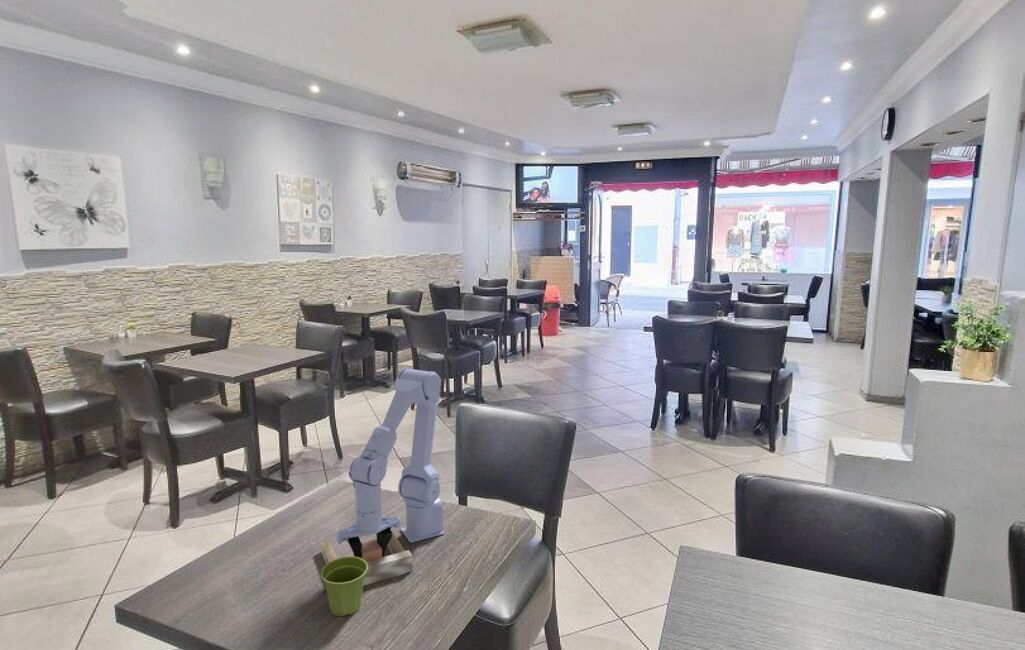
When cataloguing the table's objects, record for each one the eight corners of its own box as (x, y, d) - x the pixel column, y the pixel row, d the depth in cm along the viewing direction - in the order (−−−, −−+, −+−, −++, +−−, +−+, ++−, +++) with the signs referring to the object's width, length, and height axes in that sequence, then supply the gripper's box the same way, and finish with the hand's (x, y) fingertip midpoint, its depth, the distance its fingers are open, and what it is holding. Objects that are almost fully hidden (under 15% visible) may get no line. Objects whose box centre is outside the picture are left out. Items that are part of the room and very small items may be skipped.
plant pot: (377, 598, 116) (376, 561, 115) (351, 627, 107) (349, 587, 106) (341, 589, 119) (339, 552, 118) (312, 616, 110) (310, 577, 109)
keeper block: (375, 560, 129) (375, 539, 129) (382, 570, 126) (381, 548, 125) (357, 566, 127) (356, 544, 126) (363, 576, 123) (362, 553, 123)
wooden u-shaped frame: (388, 534, 142) (388, 520, 141) (412, 571, 126) (412, 555, 126) (321, 551, 134) (320, 536, 133) (337, 593, 118) (337, 576, 117)
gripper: (392, 493, 131) (393, 545, 133) (331, 508, 124) (333, 563, 126) (403, 505, 126) (404, 559, 127) (340, 521, 118) (342, 579, 120)
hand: (369, 562), depth 126 cm, fingers closed on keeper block, 4 cm apart
